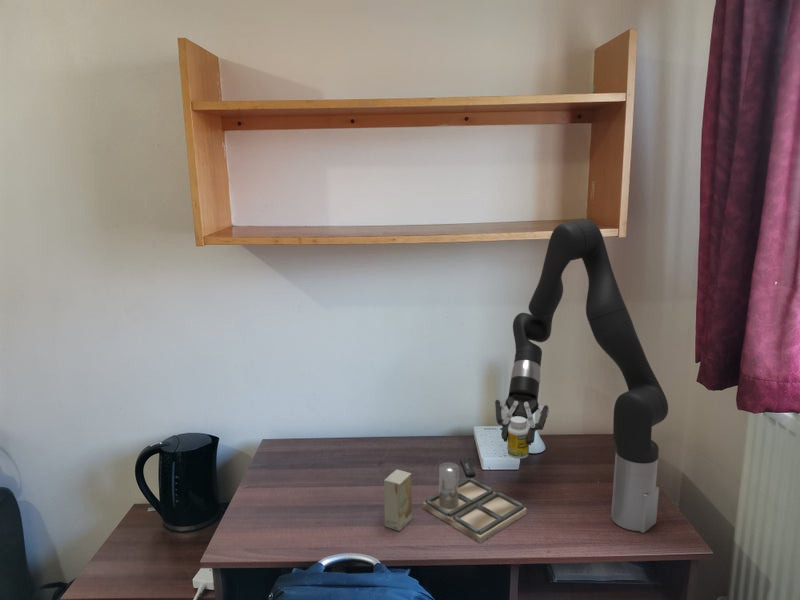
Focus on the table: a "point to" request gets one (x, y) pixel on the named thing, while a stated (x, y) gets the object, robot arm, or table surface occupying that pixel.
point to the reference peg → (449, 485)
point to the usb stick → (467, 467)
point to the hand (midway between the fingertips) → (517, 442)
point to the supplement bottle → (518, 438)
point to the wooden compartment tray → (478, 510)
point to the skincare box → (398, 499)
